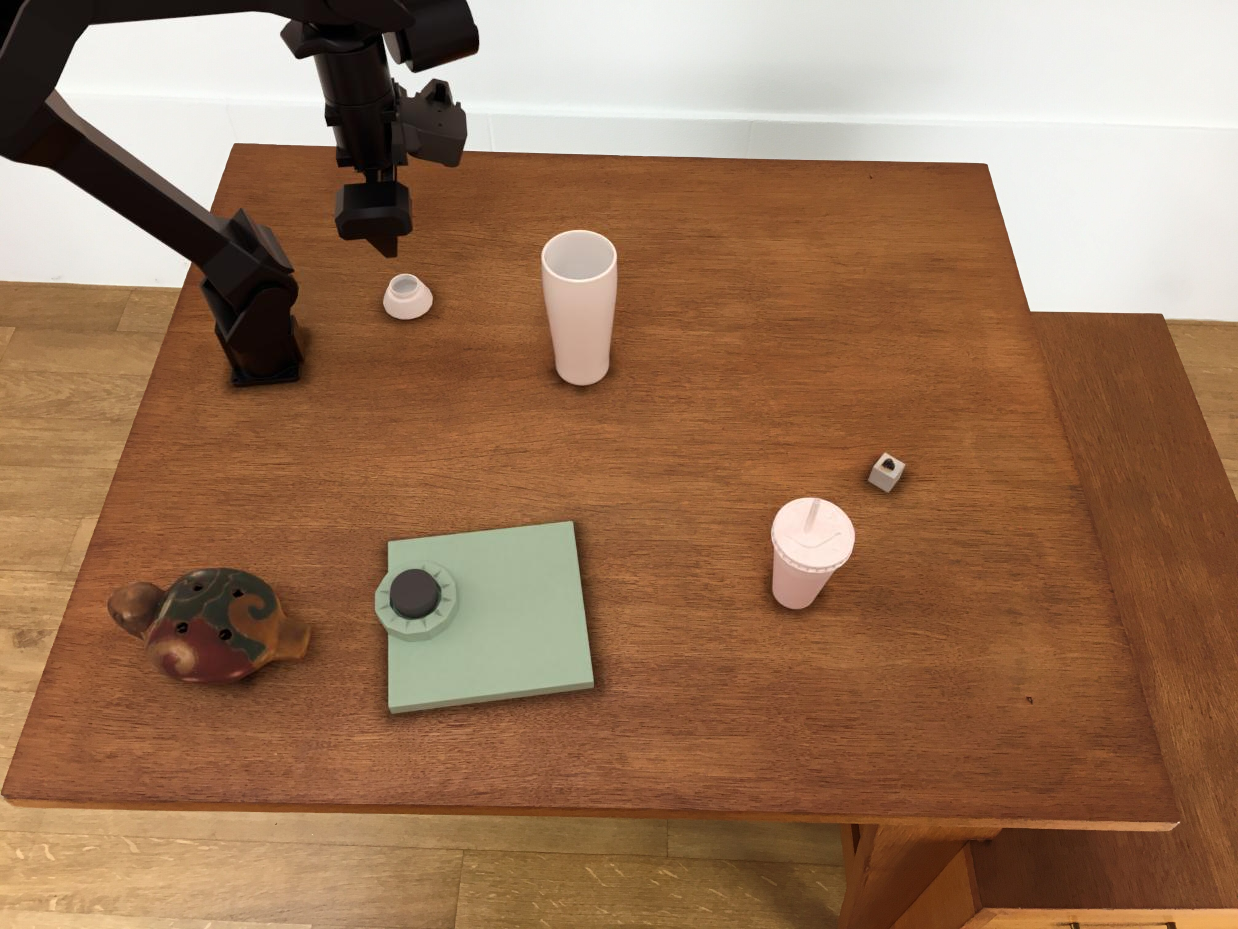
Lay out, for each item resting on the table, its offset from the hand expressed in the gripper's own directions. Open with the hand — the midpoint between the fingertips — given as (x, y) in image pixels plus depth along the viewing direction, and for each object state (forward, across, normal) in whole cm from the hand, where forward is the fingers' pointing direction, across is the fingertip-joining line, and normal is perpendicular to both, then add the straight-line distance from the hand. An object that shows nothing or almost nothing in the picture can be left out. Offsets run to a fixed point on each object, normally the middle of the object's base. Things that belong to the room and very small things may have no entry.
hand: (391, 230), depth 93 cm
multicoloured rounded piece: (+10, -37, +15) cm, 41 cm away
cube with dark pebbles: (+10, -28, -43) cm, 52 cm away
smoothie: (+10, -38, -32) cm, 51 cm away
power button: (+7, -36, -1) cm, 37 cm away
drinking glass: (+10, -11, -17) cm, 23 cm away
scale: (+10, -37, -6) cm, 39 cm away
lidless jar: (+10, 0, 0) cm, 10 cm away
